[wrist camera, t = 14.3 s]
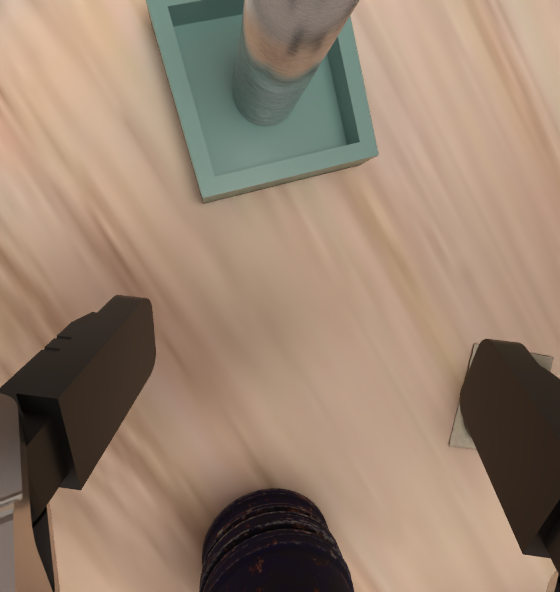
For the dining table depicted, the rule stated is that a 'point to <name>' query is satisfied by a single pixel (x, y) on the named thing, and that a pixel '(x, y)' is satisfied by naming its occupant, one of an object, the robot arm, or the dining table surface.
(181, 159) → the dining table surface
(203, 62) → the tray
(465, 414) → the robot arm
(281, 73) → the pin
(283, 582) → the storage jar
